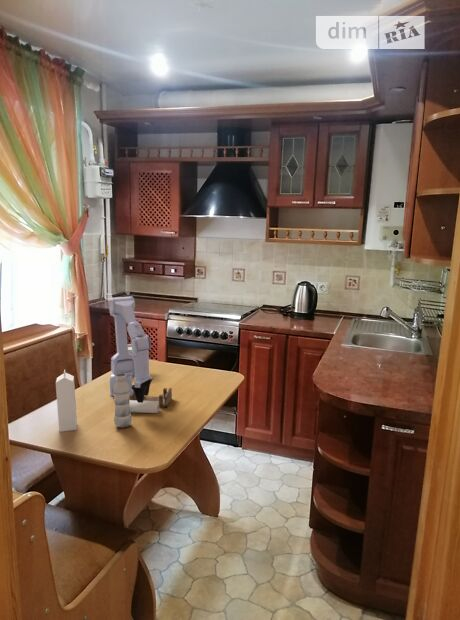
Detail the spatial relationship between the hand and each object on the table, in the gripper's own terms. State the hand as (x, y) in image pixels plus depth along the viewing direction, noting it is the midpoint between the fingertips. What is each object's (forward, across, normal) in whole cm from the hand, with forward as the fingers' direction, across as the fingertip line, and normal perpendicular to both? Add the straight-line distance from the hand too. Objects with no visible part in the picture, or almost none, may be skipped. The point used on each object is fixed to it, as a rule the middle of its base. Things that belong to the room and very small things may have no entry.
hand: (142, 398), depth 181 cm
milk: (+6, -16, +24) cm, 30 cm away
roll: (+6, 0, 0) cm, 6 cm away
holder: (+6, +10, -1) cm, 11 cm away
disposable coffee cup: (+6, +45, +17) cm, 48 cm away
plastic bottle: (+6, -13, +4) cm, 15 cm away
